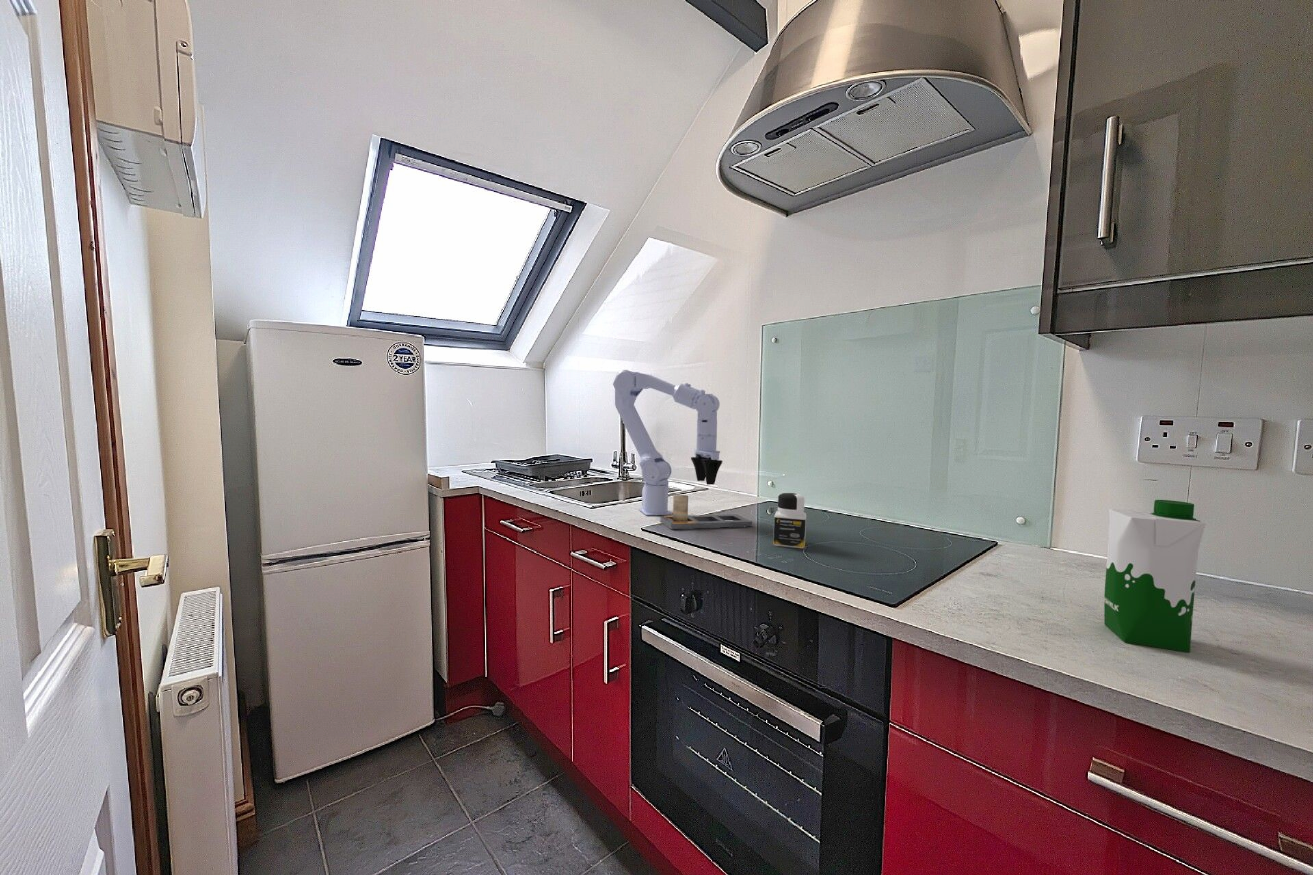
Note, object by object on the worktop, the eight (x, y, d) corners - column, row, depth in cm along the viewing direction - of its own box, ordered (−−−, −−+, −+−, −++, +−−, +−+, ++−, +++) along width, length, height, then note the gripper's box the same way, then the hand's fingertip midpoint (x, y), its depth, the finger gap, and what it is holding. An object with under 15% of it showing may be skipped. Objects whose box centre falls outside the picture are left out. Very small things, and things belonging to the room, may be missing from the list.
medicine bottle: (772, 545, 122) (775, 494, 122) (775, 538, 129) (777, 490, 129) (804, 548, 120) (806, 497, 120) (805, 541, 127) (807, 492, 127)
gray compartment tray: (660, 521, 145) (660, 515, 145) (736, 519, 151) (736, 513, 151) (671, 529, 136) (671, 523, 135) (751, 526, 142) (752, 520, 142)
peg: (670, 523, 143) (671, 494, 142) (684, 523, 144) (685, 494, 144) (675, 527, 139) (676, 497, 139) (689, 526, 140) (690, 497, 140)
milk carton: (1202, 657, 70) (1215, 508, 69) (1117, 643, 73) (1128, 502, 72) (1168, 632, 78) (1179, 499, 77) (1093, 621, 81) (1102, 493, 80)
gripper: (729, 437, 145) (728, 485, 145) (710, 434, 159) (709, 479, 159) (705, 436, 143) (704, 486, 143) (688, 434, 157) (687, 479, 157)
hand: (705, 482), depth 151 cm, fingers open, 7 cm apart
